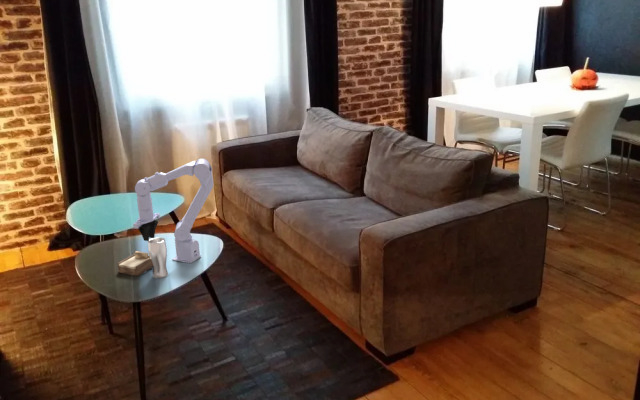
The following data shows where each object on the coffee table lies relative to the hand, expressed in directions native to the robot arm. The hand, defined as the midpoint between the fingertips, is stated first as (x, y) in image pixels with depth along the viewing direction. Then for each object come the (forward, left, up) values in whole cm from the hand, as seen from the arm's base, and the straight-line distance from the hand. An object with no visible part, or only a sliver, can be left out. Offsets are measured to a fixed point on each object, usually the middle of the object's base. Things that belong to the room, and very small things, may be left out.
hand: (149, 239), depth 255 cm
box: (0, +9, -10) cm, 13 cm away
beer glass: (-13, +10, -10) cm, 19 cm away
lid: (0, +10, -7) cm, 12 cm away
